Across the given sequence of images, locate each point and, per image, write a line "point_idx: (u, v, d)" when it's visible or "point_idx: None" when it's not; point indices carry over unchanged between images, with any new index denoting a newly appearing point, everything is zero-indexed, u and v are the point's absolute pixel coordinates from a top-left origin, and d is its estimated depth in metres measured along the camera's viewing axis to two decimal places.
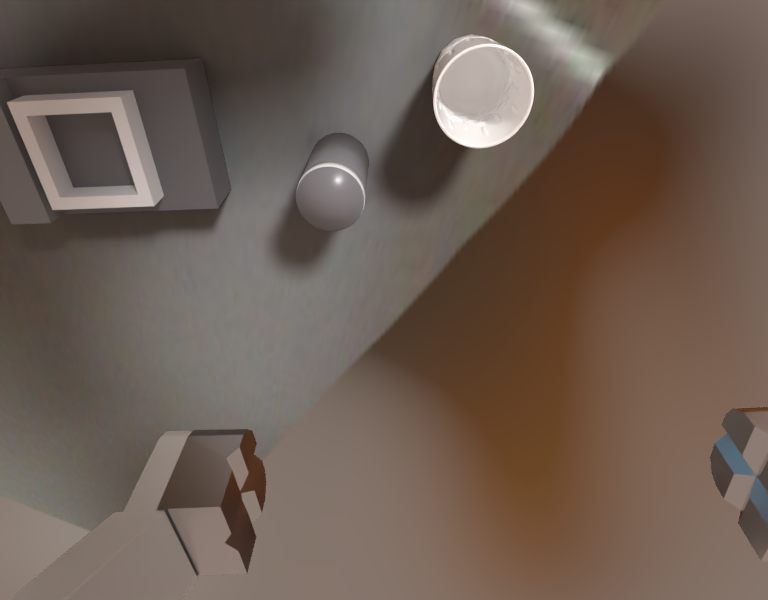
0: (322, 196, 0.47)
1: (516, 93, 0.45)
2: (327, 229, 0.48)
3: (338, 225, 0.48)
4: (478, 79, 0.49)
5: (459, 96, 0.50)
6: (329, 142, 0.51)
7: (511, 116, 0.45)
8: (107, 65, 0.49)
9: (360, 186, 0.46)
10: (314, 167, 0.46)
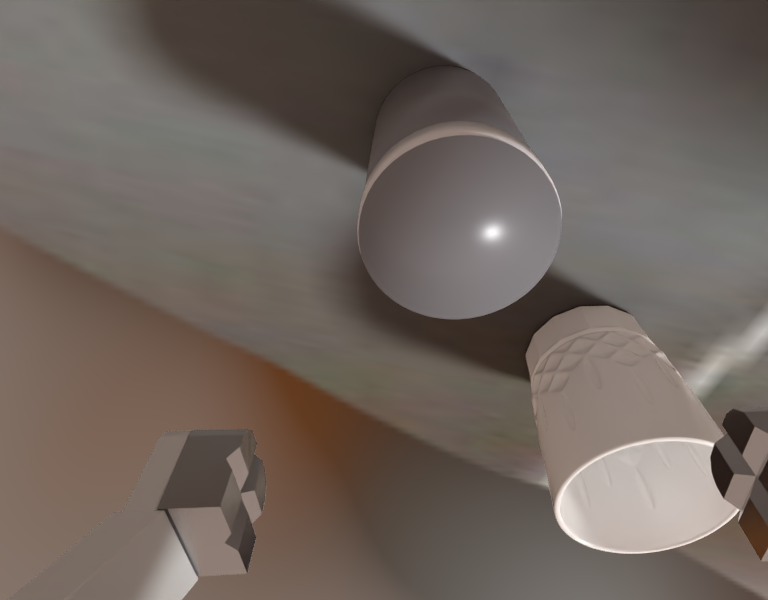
0: (472, 218, 0.15)
1: (596, 476, 0.28)
2: (363, 228, 0.16)
3: (377, 257, 0.16)
4: None
5: None
6: None
7: (576, 495, 0.26)
8: None
9: (493, 310, 0.17)
10: None
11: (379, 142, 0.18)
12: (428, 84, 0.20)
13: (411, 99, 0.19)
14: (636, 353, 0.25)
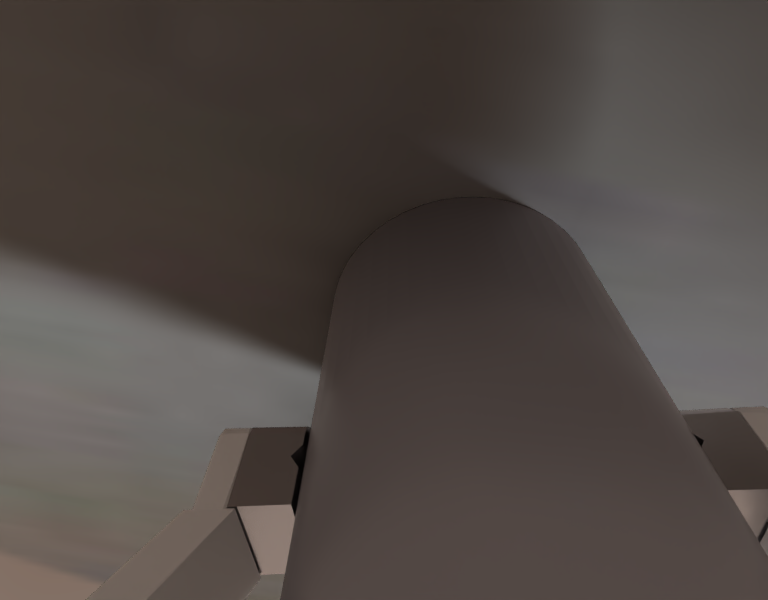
0: None
1: None
2: None
3: None
4: None
5: None
6: None
7: None
8: None
9: None
10: None
11: (315, 502, 0.06)
12: (446, 281, 0.08)
13: (405, 344, 0.07)
14: None
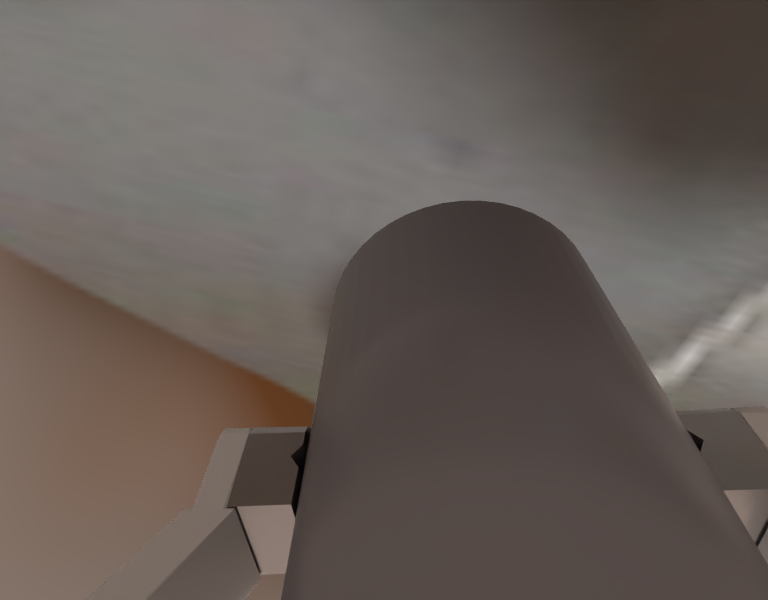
0: None
1: None
2: None
3: None
4: None
5: None
6: None
7: None
8: None
9: None
10: None
11: (315, 506, 0.06)
12: (445, 285, 0.08)
13: (405, 348, 0.07)
14: None
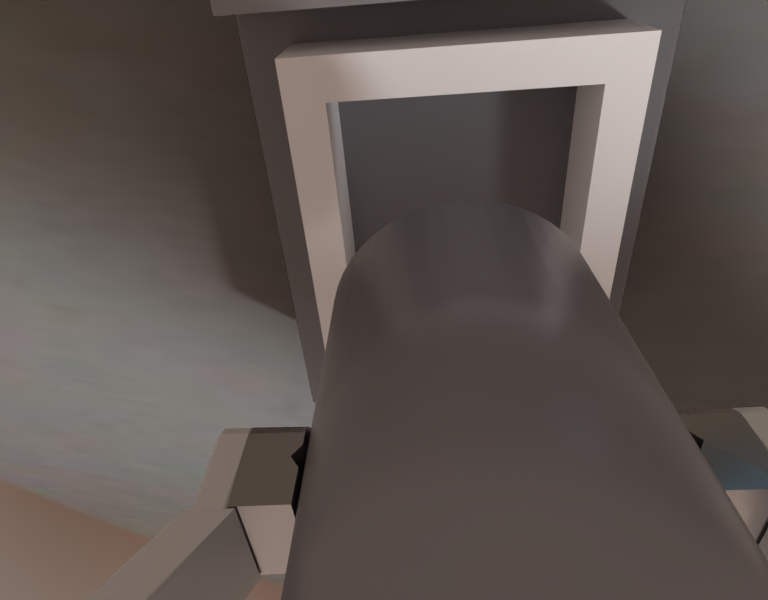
0: None
1: None
2: None
3: None
4: None
5: None
6: None
7: None
8: None
9: None
10: None
11: (315, 506, 0.06)
12: (446, 284, 0.08)
13: (405, 348, 0.07)
14: None
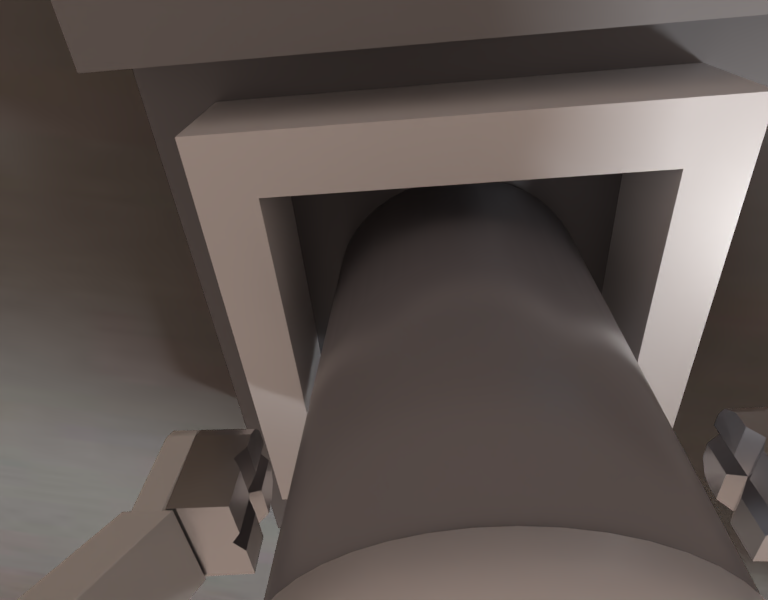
0: None
1: None
2: None
3: None
4: None
5: None
6: None
7: None
8: None
9: None
10: None
11: (316, 421, 0.08)
12: (436, 245, 0.09)
13: (397, 296, 0.08)
14: None
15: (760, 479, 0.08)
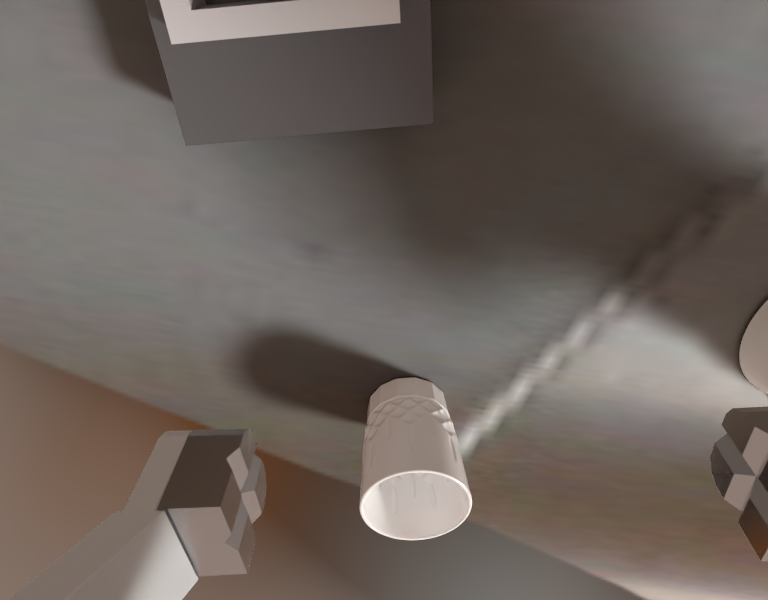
0: None
1: (406, 491, 0.42)
2: None
3: None
4: None
5: None
6: None
7: (387, 504, 0.41)
8: None
9: None
10: None
11: None
12: None
13: None
14: (418, 413, 0.40)
15: None
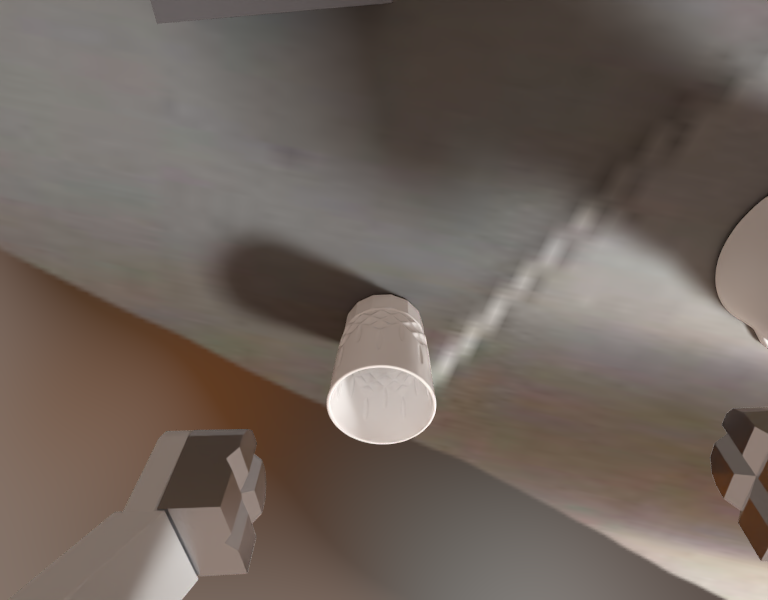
0: None
1: (378, 402, 0.43)
2: None
3: None
4: None
5: None
6: None
7: (358, 411, 0.42)
8: None
9: None
10: None
11: None
12: None
13: None
14: (389, 322, 0.41)
15: None
